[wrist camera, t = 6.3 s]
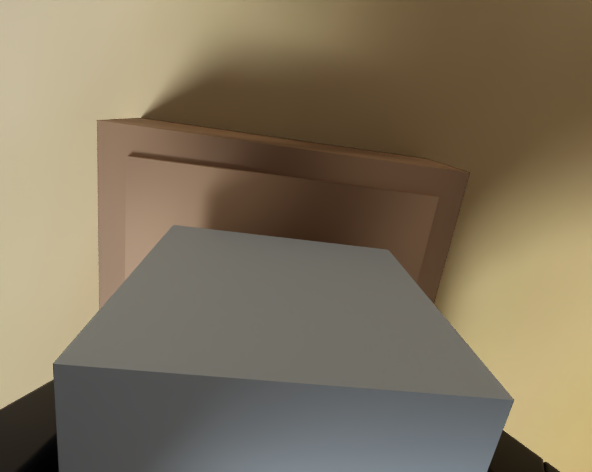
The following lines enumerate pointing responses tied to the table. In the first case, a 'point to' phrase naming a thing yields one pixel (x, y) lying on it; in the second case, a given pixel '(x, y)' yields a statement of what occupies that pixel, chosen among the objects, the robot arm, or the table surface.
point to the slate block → (272, 366)
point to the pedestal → (267, 195)
